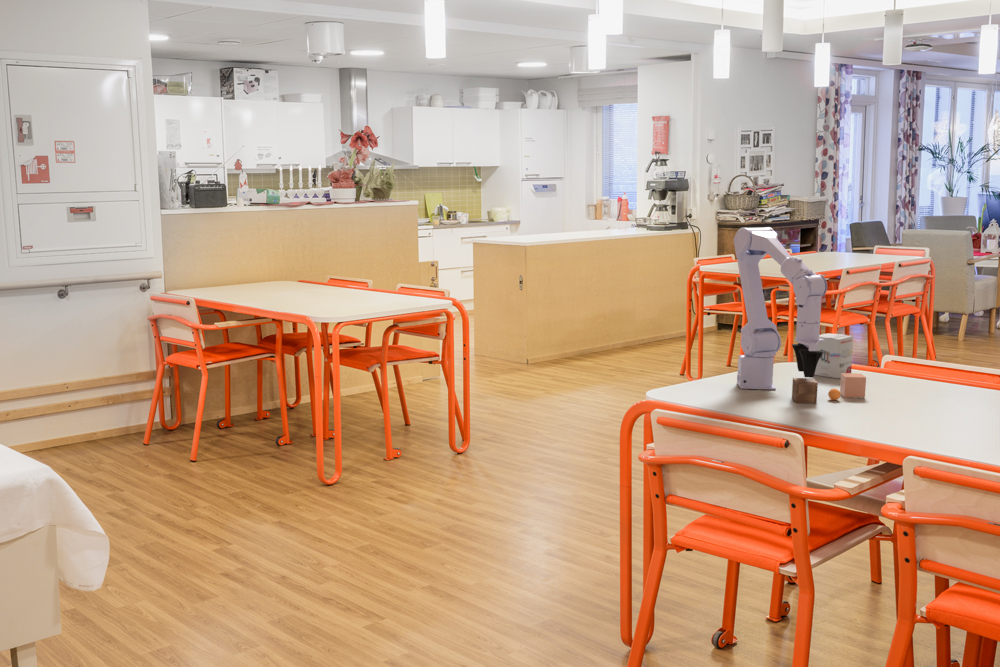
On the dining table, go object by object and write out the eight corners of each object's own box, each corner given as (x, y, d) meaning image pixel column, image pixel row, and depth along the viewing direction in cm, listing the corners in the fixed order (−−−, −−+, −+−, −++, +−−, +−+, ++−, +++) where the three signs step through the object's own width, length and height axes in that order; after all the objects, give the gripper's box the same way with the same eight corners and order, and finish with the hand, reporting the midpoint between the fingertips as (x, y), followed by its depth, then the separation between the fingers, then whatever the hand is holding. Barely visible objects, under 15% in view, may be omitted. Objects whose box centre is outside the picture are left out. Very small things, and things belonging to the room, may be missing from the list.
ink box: (825, 370, 283) (827, 331, 281) (852, 375, 277) (854, 335, 275) (810, 374, 278) (812, 335, 276) (837, 379, 271) (840, 338, 270)
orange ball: (829, 401, 243) (830, 389, 243) (826, 398, 246) (827, 387, 246) (841, 401, 243) (842, 390, 243) (838, 398, 246) (839, 387, 246)
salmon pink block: (844, 397, 248) (845, 376, 247) (839, 393, 253) (841, 373, 252) (864, 398, 247) (866, 377, 246) (859, 393, 252) (861, 373, 251)
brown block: (795, 402, 241) (796, 381, 241) (791, 398, 247) (792, 377, 246) (816, 403, 241) (817, 382, 240) (812, 398, 246) (813, 378, 245)
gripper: (831, 326, 233) (828, 380, 235) (818, 318, 247) (815, 369, 249) (801, 325, 234) (799, 379, 236) (790, 317, 248) (788, 368, 250)
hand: (805, 374), depth 243 cm, fingers open, 7 cm apart
